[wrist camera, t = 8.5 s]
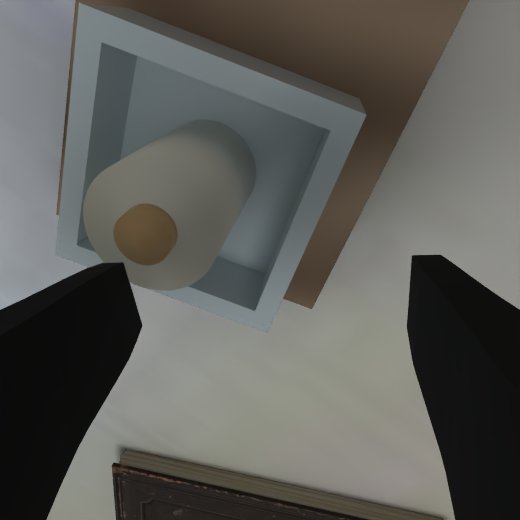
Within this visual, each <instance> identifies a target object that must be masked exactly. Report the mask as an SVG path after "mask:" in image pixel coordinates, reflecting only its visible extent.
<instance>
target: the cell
mask: <svg viewBox="0 0 520 520" xmlns="http://www.w3.org/2000/svg"><path fill="white" fill-rule="evenodd" d="M255 180H256V167H255V161H254V158H253V155H252V152H251V150H250V148H249V147H248V145H247V143H246V142H245V141H244V139H243V138H242V137H241V136H240V135H239V134H238V133H237V132H236V131H234V130H233V129H232V128H230V127H228V126H227V125H225V124H222V123H220V122H217V121H213V120H194V121H190V122H187V123H185V124H183V125H181V126H179V127H177V128H176V129H174V130H172V131H170V132H169V133H167V134H165V135H163V136H162V137H160V138H158V139H156V140H155V141H153V142H151V143H149V144H148V145H146V146H144V147H143V148H141V149H139V150H137V151H136V152H134V153H132V154H130V155H129V156H127V157H125V158H123V159H122V160H120V161H118V162H116V163H115V164H113V165H111V166H109V167H108V168H106V169H105V170H103V171H102V172H101V173H100V174H99V175H98V176H97V177H96V178H95V179H94V180H93V182H92V183H91V184H90V186H89V188H88V190H87V193H86V196H85V199H84V205H83V219H84V226H85V229H86V233H87V236H88V238H89V241H90V243H91V245H92V246H93V248H94V250H95V251H96V253H97V254H98V256H99V257H100V258H101V259H102V261H103V262H104V263H117V262H124V265H125V269H126V272H127V275H128V279H129V282H131V283H133V284H135V285H138V286H140V287H144V288H148V289H153V290H162V291H167V290H176V289H181V288H184V287H187V286H189V285H191V284H193V283H195V282H197V281H198V280H200V279H201V278H202V277H203V276H204V275H205V274H206V273H207V272H208V271H209V269H210V268H211V266H212V265H213V263H214V261H215V259H216V257H217V255H218V254H219V252H220V250H221V248H222V246H223V244H224V243H225V241H226V239H227V237H228V235H229V233H230V231H231V230H232V228H233V226H234V224H235V222H236V220H237V219H238V217H239V215H240V213H241V211H242V209H243V208H244V206H245V204H246V202H247V200H248V198H249V197H250V195H251V193H252V191H253V188H254V184H255Z"/></svg>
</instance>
